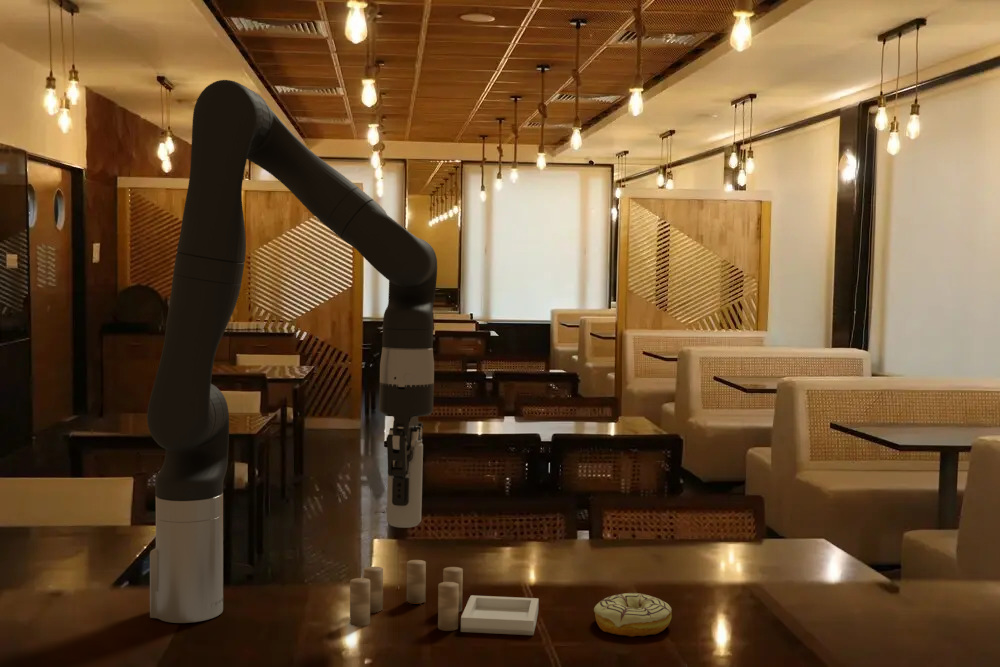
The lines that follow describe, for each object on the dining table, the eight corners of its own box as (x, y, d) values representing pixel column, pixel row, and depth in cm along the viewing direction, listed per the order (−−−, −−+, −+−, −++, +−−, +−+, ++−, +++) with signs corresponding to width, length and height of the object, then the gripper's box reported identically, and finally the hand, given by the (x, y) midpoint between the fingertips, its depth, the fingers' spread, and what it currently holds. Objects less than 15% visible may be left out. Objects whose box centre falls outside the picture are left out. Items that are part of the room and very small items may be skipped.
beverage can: (415, 529, 140) (417, 443, 139) (382, 527, 141) (384, 440, 140) (425, 521, 145) (427, 437, 144) (392, 519, 146) (394, 436, 145)
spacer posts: (347, 625, 141) (347, 583, 141) (369, 596, 154) (370, 557, 154) (456, 631, 140) (457, 588, 139) (469, 601, 153) (469, 562, 153)
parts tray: (460, 631, 140) (461, 617, 139) (470, 608, 149) (470, 595, 149) (533, 635, 138) (533, 620, 138) (538, 611, 148) (538, 598, 148)
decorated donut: (580, 620, 146) (581, 594, 146) (645, 611, 150) (645, 586, 150) (617, 644, 136) (617, 616, 136) (685, 633, 140) (685, 606, 140)
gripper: (391, 374, 149) (388, 489, 150) (368, 383, 135) (366, 510, 136) (441, 376, 148) (439, 491, 149) (424, 386, 134) (421, 513, 135)
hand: (404, 500), depth 143 cm, fingers closed on beverage can, 4 cm apart
